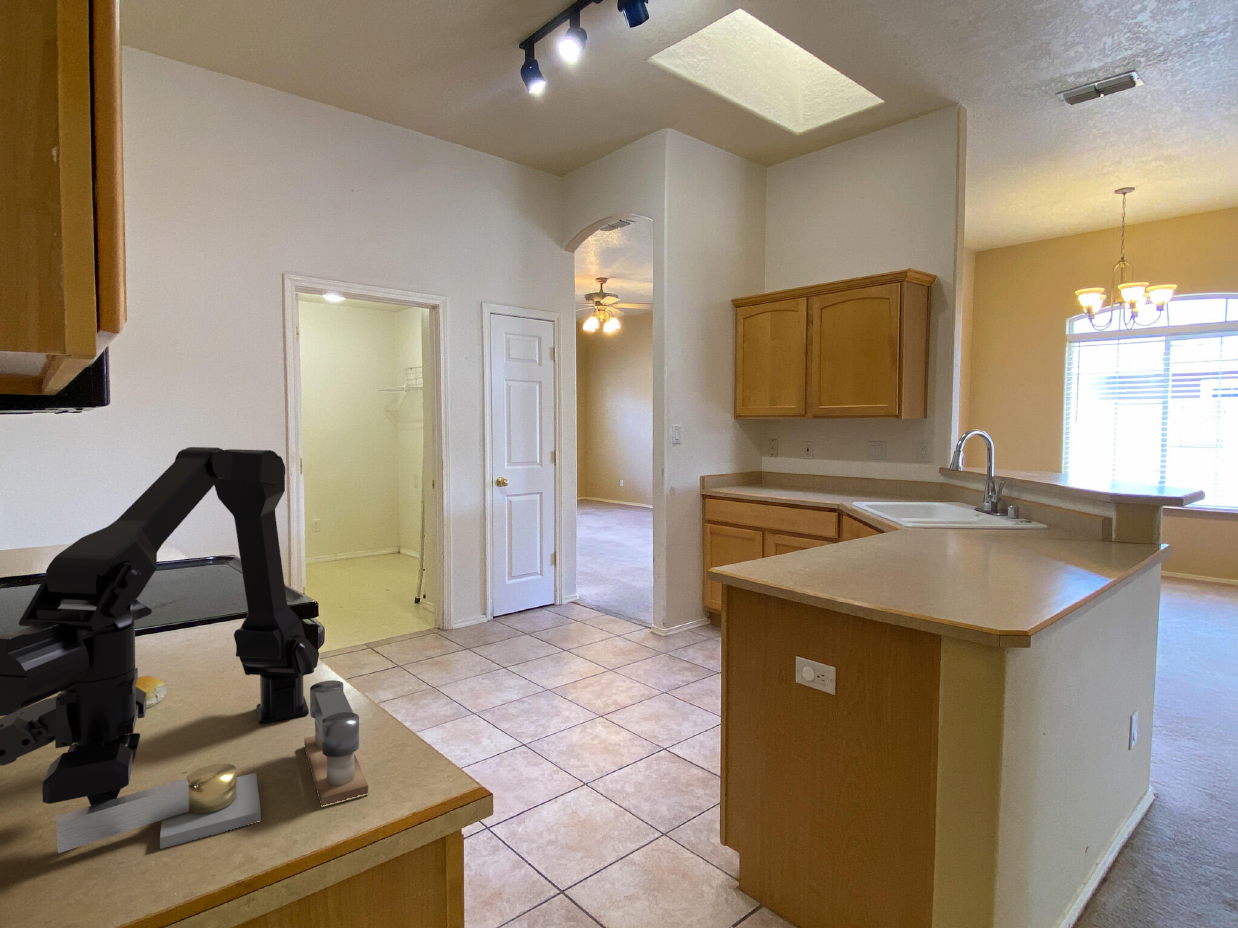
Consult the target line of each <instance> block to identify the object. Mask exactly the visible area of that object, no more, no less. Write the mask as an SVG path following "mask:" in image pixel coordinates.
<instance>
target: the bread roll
mask: <svg viewBox="0 0 1238 928" xmlns="http://www.w3.org/2000/svg"><path fill="white" fill-rule="evenodd" d="M135 687H138V688H139V689H141V690H142V691H144V692H145V693H146V700H147V709H149V708H152V707H153V706H155V705H157V704H158V703H160V702H161V701H162V700H163V699H164V698H165V697H166V696H167V692H168V686H167V685H166V684H165V682H164V681H163V680H162V679H159V678H157V677H155V676H150V675H141V676H138V678H137V681H136V683H135Z"/></svg>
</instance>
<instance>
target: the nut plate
mask: <svg viewBox="0 0 1238 928" xmlns="http://www.w3.org/2000/svg"><path fill="white" fill-rule="evenodd" d="M260 803H261V802H260V794H259V787H258V778H257V773H256V772H254V773H250V774H245V775H240V776H238V777H237V797H236V799H235V800H234V801H233V802H232V803H231V804H230V805H228V806H226V807H224V808H222V809H220V810H217V811H214V812H210V813H204V814H194V813H190V812H185V813H182V814H178V815H175V816H172V817H169V818H166V819H163V820H161V826H160V834H159V835H160V836H159V845H160V846H159V847H160V850H163V849H166V847H167V848H170V847H173V846H174V847H175V846H177V845H181V844H184V843H188V841H189V842H192V840H193V841H195V840H199V839H198V838H200V839H203V837H204V838H207V837H210V836H209V835H211V836H213V835H214V836H215V835H219V834H221V833H224V832H225V831H226V832H229V831H228V830H230V831H233V830H236V829H235V828H237V829H239V828H238V827H241V826H244V827H246V826H245V825H248V824H251V823H255V822H257V821H261V822H262V809H261V804H260ZM255 824H256V823H255ZM248 826H249V825H248ZM241 828H242V827H241ZM232 829H233V830H232ZM226 832H225V833H226Z"/></svg>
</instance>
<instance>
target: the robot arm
mask: <svg viewBox="0 0 1238 928" xmlns="http://www.w3.org/2000/svg"><path fill="white" fill-rule="evenodd" d="M213 487H214V490H215V492H216V496H217V498H218V500H219V501H220V502H221V504H223V506H224V507H225V508H226V510H228V511H229V513H230V514H231V515H232V516H233V519H234V524H235V525H234V526H235V534H236V538H237V539H236V540H237V546H238V552H239V553H238V554H239V561H240V567H241V573H242V580H243V588H244V595H245V601H246V609H247V615H246V617H245V618H244V621H243V623H242V625H241V626H240V627H239V628H238V629H236V630H235V631H234V633H233V638H234V642H235V645H236V646H235V649H236V651H235V657H237V658H239V660H240V663H241V666H242V668H243V671H244V674H245V676H259V683H260V684H259V686H260V688H259V690H260V691H259V692H260V694H259V695H260V703H257V704H256V714H257V718H258V719H257V720H258V723H259V724H263V725H264V724H267V723H273V722H277V721H281V720H282V719H283V720H286V719H291V718H292V717H293V718H296V717H297V718H298V717H301V716H306V715H309V714H310V710H309V707H308V704H307V703H308V702H307V701H306V697H305V695H304V692H305V691H304V676H307V675H311V674H313V673H315V669H316V668H317V667H318V662H319V657H320V656H319V655H320V652H319V650H317V649H316V647H314V645H312V644H311V642H310V641H309V640H308V639H307V638H306V633H305V630H304V627H303V622H302V620H301V619H300V617H299V616H298V615H297V614H296V613H295V612H294V610H293V609H292V608H291V607H290V606H289V605H288V601H287V594H286V588H285V587H286V586H285V579H284V572H283V564H282V557H281V555H282V554H281V549H280V540H279V533H278V532H279V531H278V524H277V517H276V508H277V507H278V504H279V502H280V500H281V499H282V497H283V495H284V493H285V491H286V465H285V462H284V459H283V458H282V456H280V455H279V454H277V453H276V452H275V451H273V450H269V449H242V448H241V449H235V448H232V449H231V448H227V449H222V448H220V447H207V446H203V447H201V446H200V447H199V446H189V447H186V448H183V449H181V450H179V451H178V452H177V454H176V455H175V459H174V462H172V464H171V465H170V466H168V468H167V469H166V470H165V471H164V472H163V473H162V474H160V476H159V477H158V478H157V479H156V480H155V481H154V482H153V483H152V484H151V485H150V486H149V487H148V488H147V489H146V490H145V491H144V492H143V493H142V494H141V495H140V496H139V497H138V498H137V499H136V500H135V501H134V502H132V504H131V505H130V506H129V507H128V508H126V510H125V511H124V512H123V513H122V514H121V515H120V516H119V517H118V518H117V519H116V520H115V521H114V522H112V523H111V524H109V525H108V526H106V527H104V528H101V529H99V530H96V531H94V532H92V533H89V534H86V535H85V536H82V537H80V538H78V540H77V541H75V542H73V543H72V544H71V545H69V546H68V547H66V548H65V549H64V550H61V552H60V553H58V554H57V555H56V556H55V557H54V558H53V559H52V560H51V562H50V563H49V564H48V566H47V568H46V570H45V573H46V574H45V576H44V578H43V579H42V581H41V583H40V584H39V587H38V589H36V592H35V593H34V595H33V597H32V599H31V601H30V602H29V603H28V605H27V607H26V609H25V611H24V612H23V614H22V615H21V617H20V619H19V620H18V626H20V628H21V627H24V628H22V629H20V630H16V631H14V632H8V633H5V632H4V633H0V717H1V718H0V766H6V765H10V764H11V763H13V762H16V761H17V759H18V758H20V757H23V756H24V755H27V754H29V753H32V752H34V751H36V750H38V749H41V748H43V747H46V746H47V745H50V744H51V743H53V742H55V749H59V748H61V749H62V748H67V749H68V750H67V752H63V753H62V754H60V755H59V756H58V757H57V758H56V759H55V760H54V761H53V762H52V763H51V764H49V767H48V770H47V771H46V772H45V773H46V774H45V776H44V778H43V780H42V784H41V786H42V789H41V790H42V791H41V792H42V793H41V794H42V803H44V804H48V805H51V804H55V803H60V802H65V801H70V800H76V799H79V798H85V797H86V798H87V800H88V803H89V804H90V805H89V806H92V805H95V804H99V803H102V802H105V801H109V800H112V799H116V798H119V797H118V796H119V794H120V792H121V790H122V789H124V788H125V787H127V786H129V784H130V781H131V776H132V771H133V765H134V763H135V760H136V756H137V752H138V746H139V742H140V739H141V733H138V732H136V733H134V731H135V727H136V724H137V723H136V722H137V720H138V719H142V718H143V719H144V718H145V717H146V711H147V709H148V708H147V700H146V693H145V692H144V691H142V690H141V689H139V688H138V687H135V683H136V681H137V678H139V676H138V675H139V673H138V672H139V669H138V667H136V621H138V620H140V619H143V618H145V617H149V616H151V614H152V613H153V609H152V608H150V607H149V606H146V605H145V604H143V603H141V602H140V601H139V600H138V598H139V597H140V595H141V594H142V593H143V591H144V589H145V588H146V586H147V585H148V583H149V581H150V580H151V578H152V576H153V575H154V573H155V572H156V570H157V565H158V564H157V563H158V561H157V560H158V551H159V550H160V549H161V547H162V545H163V544H164V543H165V542H166V541H167V539H168V538H169V537H170V536H171V535H172V534H173V533H174V531H176V529H177V528H178V527H179V526H180V524H182V523H183V521H184V520H185V519H186V518H187V517H188V516H189V515H190V513H192V511H193V510H194V509H195V507H197V505H198V504H200V502H201V501H202V500H203V498H204V497H205V496H206V495H207V494H208V493H209V492H210V490H211V489H212V488H213ZM62 605H63V606H67V607H68V606H70V607H89V608H95V609H79V608H75V609H73V608H61V607H60V606H62ZM56 694H57V695H56ZM53 695H55V696H53ZM51 696H52V697H51Z"/></svg>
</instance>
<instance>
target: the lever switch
mask: <svg viewBox="0 0 1238 928" xmlns="http://www.w3.org/2000/svg"><path fill="white" fill-rule="evenodd" d="M237 776H238V775H237V767H236V766H235V765H234V764H231V763H227V762H226V763H222V762H221V763H213V764H210V765H205V766H203V767H200V768H198V769H195V770H194V771H192V772H190V773H189V774H188V775H187V776H186V777H185V778H181V779H178V780H174V781H172V782H171V781H170V782H169V783H168V782H167V783H164V784H161V785H158V786H154V787H150V788H146V789H144V790H143V789H142V790H141V791H137V792H134V793H133V792H132V793H131V794H126V795H123V796H120V797H117V798H116V799H112V800H109V801H105V802H102V803H99V804H95V805H92V806H91V805H89V806H86V807H82V808H79V809H75V810H72V811H69V812H64V813H61V814H59V815H58V814H57V815H56V816H55V817H56V818H55V819H56V841H57V854H61V853H64V852H66V851H69V850H73V849H75V848H79V847H82V846H85V845H88V844H91V843H94V842H98V841H100V840H103V839H107V838H109V837H113V836H115V835H116V836H117V835H118V834H122V833H125V832H128V831H131V830H134V829H135V830H136V829H137V828H141V827H144V826H146V825H151V824H153V823H156V822H160V821H162V820H163V819H166V818H169V817H172V816H175V815H178V814H182V813H185V812H190V813H194V814H204V813H210V812H214V811H217V810H220V809H222V808H224V807H226V806H228V805H230V804H231V803H232V802H233V801H234V800H235V799H236V797H237Z"/></svg>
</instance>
